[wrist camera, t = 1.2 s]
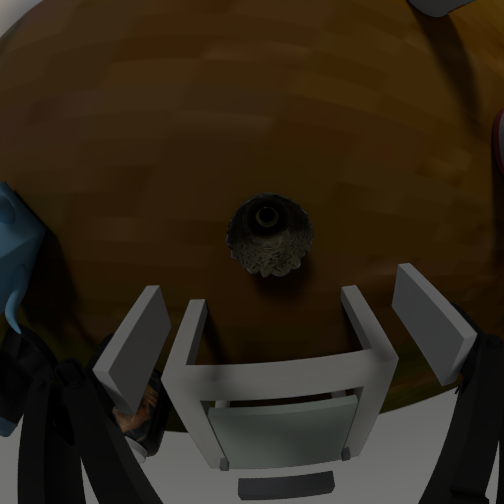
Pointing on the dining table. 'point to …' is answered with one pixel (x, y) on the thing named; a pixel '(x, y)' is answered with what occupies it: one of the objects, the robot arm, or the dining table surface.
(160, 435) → the jar
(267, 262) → the cup
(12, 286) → the teakettle
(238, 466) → the trapdoor
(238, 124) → the dining table surface
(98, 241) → the dining table surface
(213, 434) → the frame
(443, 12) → the milk bottle
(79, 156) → the dining table surface
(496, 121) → the citrus juicer
